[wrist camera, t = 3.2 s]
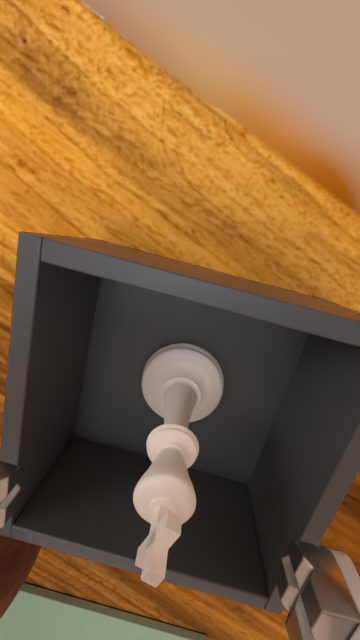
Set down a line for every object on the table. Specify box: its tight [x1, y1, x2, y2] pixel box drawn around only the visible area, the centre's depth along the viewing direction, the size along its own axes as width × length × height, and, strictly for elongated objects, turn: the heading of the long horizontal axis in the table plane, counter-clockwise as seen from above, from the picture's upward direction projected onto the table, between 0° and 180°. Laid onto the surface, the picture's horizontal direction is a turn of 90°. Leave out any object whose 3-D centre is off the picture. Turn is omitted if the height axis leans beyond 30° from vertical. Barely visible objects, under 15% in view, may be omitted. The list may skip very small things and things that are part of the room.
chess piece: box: [133, 343, 224, 588], centre depth 11 cm, size 5×5×10 cm
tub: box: [0, 232, 360, 614], centre depth 14 cm, size 14×14×7 cm
